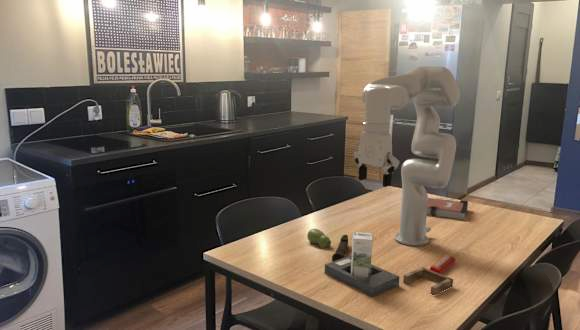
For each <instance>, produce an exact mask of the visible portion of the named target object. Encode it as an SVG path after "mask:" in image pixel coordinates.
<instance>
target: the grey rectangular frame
mask: <svg viewBox="0 0 580 330" xmlns="http://www.w3.org/2000/svg"><path fill="white" fill-rule="evenodd" d="M351 260H352V255H348V256H344V258H342V259H339V260H336V261H333V262H332V261H331V262H328V263H325V264H324V274H325V275H327V276H329V277H331V278H334V279H336V280H337V281H339V282H341V283H344V284H345V285H347V286H349V287H351V288H353V289H355V290H358V291H359V292H362V293H363V294H366V295H368V296H370V297H371V298H373V297H376V296H378V295H381V294H383V293H385V292H387V291H390V290H392V289H394V288H395V289H396V287H399V286H400V275H398V274H395V273H393V272H390V271H387V270H385V269H384V268H381V267H378V266H376V265H374V264H372V263H371V272H370V276H369V277H367V278H364V279H361V278H359V277H356V276H354V275H352V274H351Z"/></svg>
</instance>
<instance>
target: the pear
mask: <svg viewBox="0 0 580 330" xmlns="http://www.w3.org/2000/svg"><path fill="white" fill-rule="evenodd" d="M306 236H307V240H308V242H310V243H312V244H318V246H319V247H320V248H322V249H326V248H329V247H331V244H332V240H330V238H329V236H327V235H325V233H324V232H323V231H322V230H320V229H318V228H311V229H310V230H309V231H308V232H307V235H306Z"/></svg>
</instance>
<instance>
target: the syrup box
mask: <svg viewBox="0 0 580 330" xmlns="http://www.w3.org/2000/svg"><path fill="white" fill-rule="evenodd" d="M351 241H352V242H351V243H352V244H351V246H352V247H351V256H352V260H351V274H352V275H354V276H356V277H359V278H361V279H364V278H367V277H369V276H371V275H370V272H371V264H372V256H373V254H372V253H373V236H372V233H370V232H352V240H351Z"/></svg>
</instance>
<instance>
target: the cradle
mask: <svg viewBox="0 0 580 330" xmlns="http://www.w3.org/2000/svg"><path fill="white" fill-rule="evenodd" d="M429 269H430V268H429ZM429 269H428V268H426V267H424V266H422V267H420V268H417V269H415V270H412V271H410V272H408V273H406V274H403V280H402V282H403V284H406V285H408V284H410V283H413V282H414V281H417V280H419V279H421V278H425V279H428V280H430V281H433V282H435V283H436V284H433V285H432V286H430V294H432V295H435V296H437V295H439V294H441V293H443V292H444V290H445V291H447V290H449V289H451V288H453V283H454V279H453V278H452V277H448V276H446V275H443V274H442V273H441V274H439V273H436V272H434V271H431V270H429ZM450 287H451V288H450ZM448 288H449V289H448ZM446 289H447V290H446ZM442 291H443V292H442ZM440 292H441V293H440ZM438 293H439V294H438ZM436 294H437V295H436ZM432 295H431V296H432Z"/></svg>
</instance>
